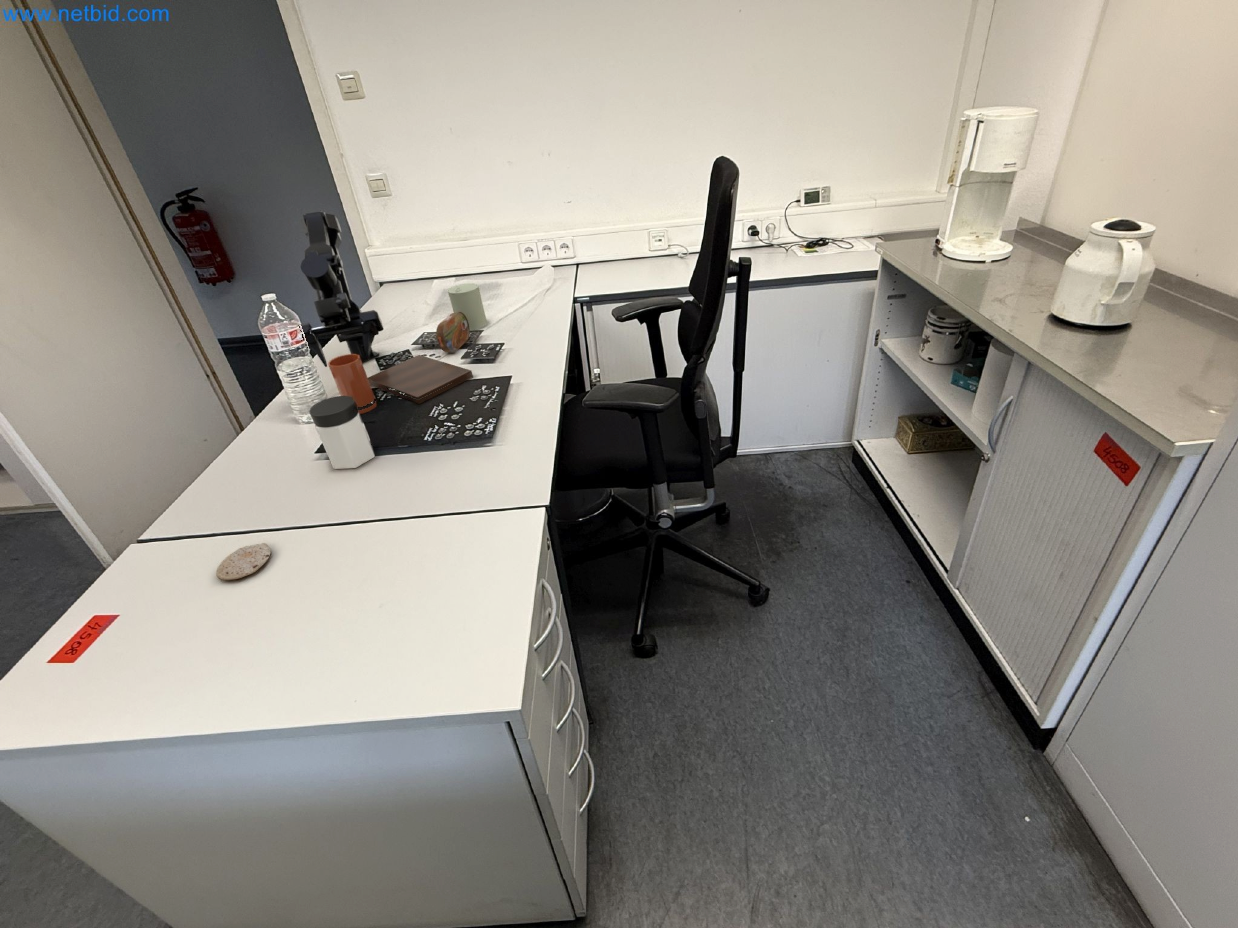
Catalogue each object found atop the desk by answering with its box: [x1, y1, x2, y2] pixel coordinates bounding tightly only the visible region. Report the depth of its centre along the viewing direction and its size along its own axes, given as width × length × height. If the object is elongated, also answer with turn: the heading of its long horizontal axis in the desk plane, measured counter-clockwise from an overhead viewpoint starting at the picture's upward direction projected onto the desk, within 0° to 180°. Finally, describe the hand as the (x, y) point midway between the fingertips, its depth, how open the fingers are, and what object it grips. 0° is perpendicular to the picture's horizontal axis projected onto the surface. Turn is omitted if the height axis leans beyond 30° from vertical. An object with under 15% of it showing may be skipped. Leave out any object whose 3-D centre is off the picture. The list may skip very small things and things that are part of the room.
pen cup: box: [327, 353, 378, 415], centre depth 132 cm, size 7×7×12 cm
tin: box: [435, 312, 471, 353], centre depth 161 cm, size 15×3×8 cm, turn 168°
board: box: [367, 354, 474, 405], centre depth 145 cm, size 22×16×2 cm
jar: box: [309, 395, 376, 470], centre depth 113 cm, size 9×8×12 cm
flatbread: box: [215, 542, 272, 581], centre depth 92 cm, size 8×8×1 cm
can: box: [447, 282, 488, 332], centre depth 173 cm, size 9×9×12 cm
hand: (346, 361), depth 133 cm, fingers open, 9 cm apart
